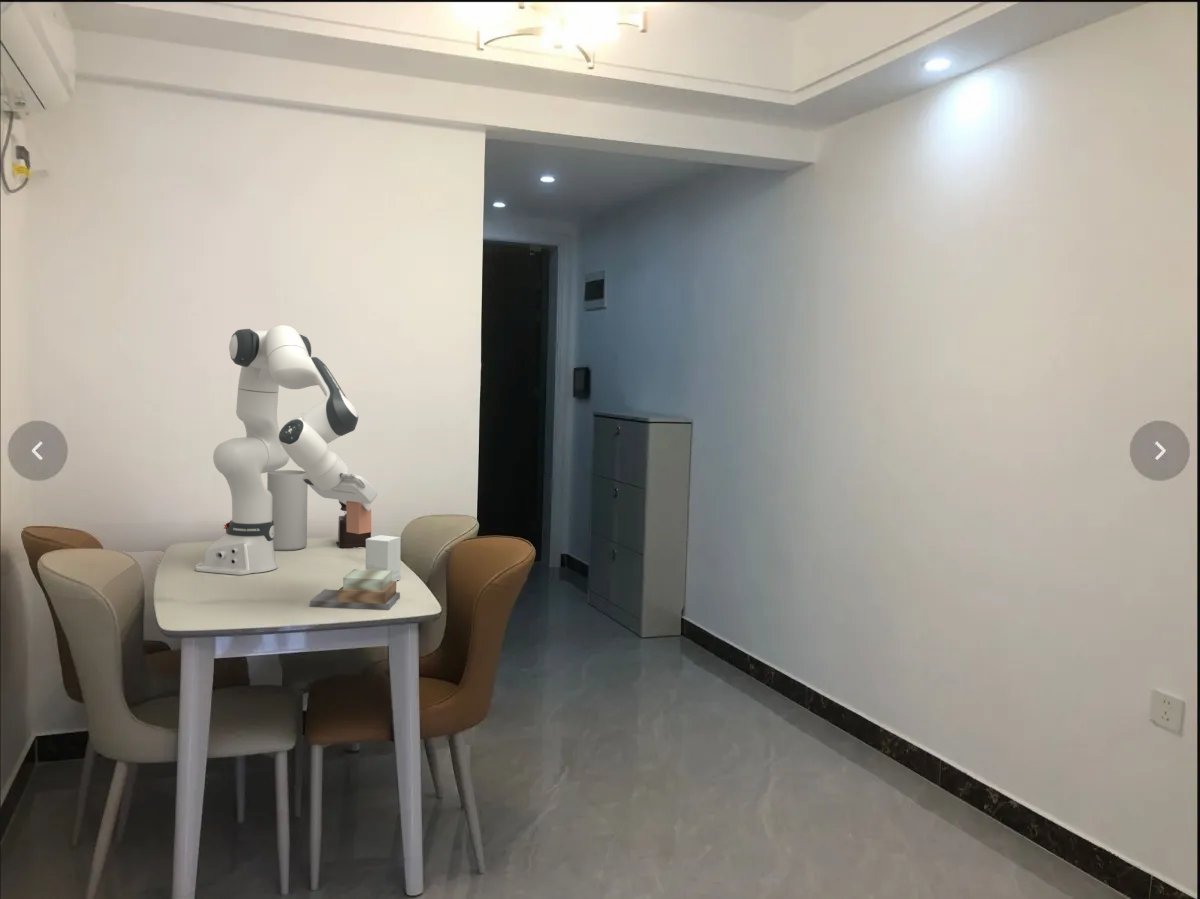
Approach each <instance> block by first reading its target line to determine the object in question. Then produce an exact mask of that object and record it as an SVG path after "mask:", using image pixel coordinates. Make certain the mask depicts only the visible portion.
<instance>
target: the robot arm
mask: <svg viewBox="0 0 1200 899" xmlns="http://www.w3.org/2000/svg"><path fill="white" fill-rule="evenodd" d="M228 345H229V346H228V350H229V355H230V359H231V360H232V362H233V363H234V364H235V365H238V366H240V367H241V368H240V373H239V377H238V385H237V395H236V396H237V398H236V411H235V413H236V416H237V418H238V419H239V420H240V421H241V422H243V425H244V427H245V432H246V433H245V434H246V436H245V437H235V438H230V439H228V440H225V441H223V442H220V443H219V444H217V446H216V447H215V449H214V451H213V456H212V459H213V464H214V467H215V468H216V470H217V471H218V472H219V474H220V473H221V475H223V477H224V479H225V480H226V481H227V484H228V487H229V490H230V495H231V517H232V518H231V520H230V521H229V522H227V523H225V524H224V525H223V530H225V534H223V535H222V536H221V537H219V538H218V539H216V540H215V541H214V542H212V543H211V544H210V545H209V546H208V547H207V548H206V550H205V553H204V556H203V560H202V561H201V562H199V563H197V564H196V565H195V569H194V570H195V571H196V572H203V573H213V574H214V573H215V574H216V573H217V574H226V575H237V576H242V575H243V576H244V575H249V574H254V573H255V574H257V573H265V572H269V571H273V570H276V569H278V568H279V567H278V562H277V559H276V555H275V550H274V547H273V539H274V521H273V520H272V494H271V492H270V491H269V490H267V488H266V487H265V485H264V483H263V479H262V474H265V473H267V472H272V471H278V470H279V469H281V468H283V467H285V466H286V465H287V464H288V463H289V461H290V459H291V461H293V463H295V465H296V466H298V467H299V468H301V469H302V470H303V471H305V472H306V474H305V475H304V476H303V478H302V481H303V482H304V483H306V484H308V487H310V488H311V489H312V490H313V491H314V492H315V493H316V494H317V495H319V496H320V497H322V498H325V499H329V500H330V499H332V500H337V501H338V502H339V501H340V502H342V503H344V504H345V505H346V501H352V502H359V503H362V506H361V507H362V508H363V509H364V510H367V511H369V510H370V509H371V510H372V508H373V504H372V503H374V502H373V501H374V500H375V499H376V497H377V496H378V491H377V490H376V489H375V488H374V487H373V485H372V484H371V483H369V482H368V481H367V480H366V479H365V478H364V477H363V476H360V475H358V474H352V473H348V470H349V467H348V466H347V465H348V464H346V463H345V462H344V461H343V459H342V458H340V456H339V455H338V454H337V453H336V452H335V451H334V450H332V448H331V449H330V447H329V446H328V444H329V443H332V442H333V441H335V440H337V439H338V438H340V437H343V436H346V435H348V434H349V433H351V432H353V431H355V430H356V427H357V424H358V422H359V415H358V412H357V410H356V408H355V407H354V405H353V403H352V402H351V401H350V400H349V399H348V397H347V396H346V394H345V393H344V391H343V390H342V388H341V386H340V385H339V383H338V382H337V380H336V378H335V377H334V375H333V373H332V372H331V371H330V369H329V368H328V367H327V365H326V364H325V363H324V362H323V361H322V360H321V359H320V358H318V357H317V356H312V344H311V341H310V340H309V339H308V337H307V336H306V335H303V334H300V333H299V332H298V331H297V330H296V328H294V327H293V326H290V325H286V324H279V325H275V326H273V327H271V328H270V329H269V330H268V329H267V330H266V329H251V328H242V329H237V330H235V332H233V334H232V335H231V339H230V340H229V344H228ZM311 356H312V357H311ZM313 386H314V387H315V386H319V387H320V390H321V391H322V393H323V394H324V396H325V398H323V401H321V402H320V403H319V404H317V405H315V406H314V407H312V408H310V409H308V410H307V411H305V412H303V413H301V414H299V415H297V416H296V417H294V418H293V419H291V420H290V421H288V422H286V423H285V424H284V425H283V426H282V428H281V429H280V428H279V423H278V404H279V403H278V402H279V401H278V400H279V389H280V388H279V387H282V388H285V389H288V390H302V389H305V388H309V387H313Z"/></svg>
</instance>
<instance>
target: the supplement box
mask: <svg viewBox="0 0 1200 899" xmlns="http://www.w3.org/2000/svg"><path fill="white" fill-rule="evenodd" d="M401 538H402V537H400V536H392V535H383V534H379V535H375V536H372V537H371V538H368V539H366V548H365V570H384V571H392V581H396V582H398V581H397V580H399V579H400V580H401V552H402V551H401V545H402V544H401V542H402V541H401V540H402V539H401ZM400 580H399V581H400Z"/></svg>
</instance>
